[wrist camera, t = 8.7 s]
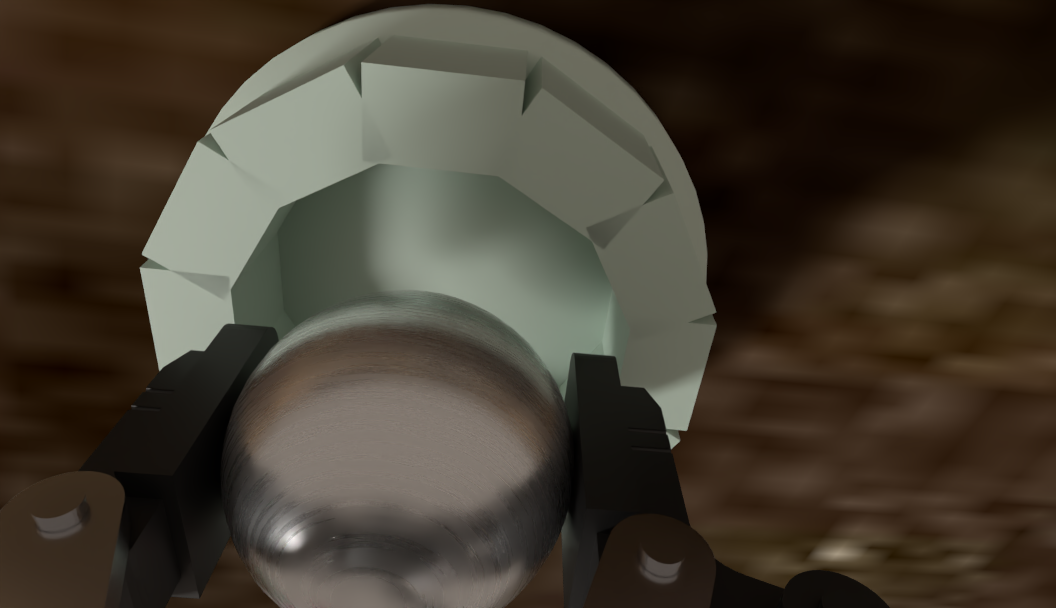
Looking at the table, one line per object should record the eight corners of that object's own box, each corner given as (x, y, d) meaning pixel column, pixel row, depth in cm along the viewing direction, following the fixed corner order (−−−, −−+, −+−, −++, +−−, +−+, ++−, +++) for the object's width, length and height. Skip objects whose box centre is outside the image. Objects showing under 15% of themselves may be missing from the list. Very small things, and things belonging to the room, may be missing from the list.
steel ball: (626, 338, 12) (675, 579, 8) (467, 504, 14) (435, 768, 10) (377, 174, 11) (267, 357, 6) (240, 385, 13) (86, 633, 8)
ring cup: (804, 220, 15) (871, 299, 12) (509, 513, 19) (503, 625, 16) (357, -135, 12) (294, -150, 9) (128, 311, 16) (35, 403, 13)
